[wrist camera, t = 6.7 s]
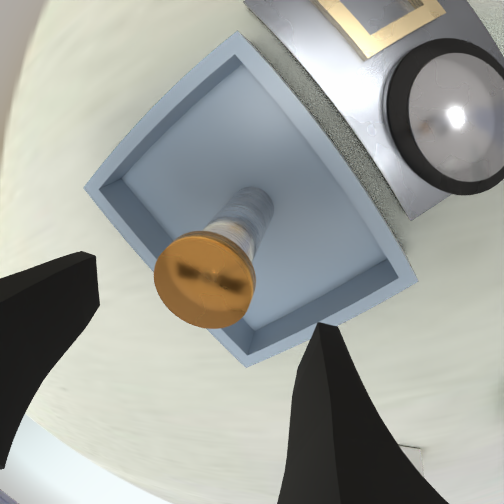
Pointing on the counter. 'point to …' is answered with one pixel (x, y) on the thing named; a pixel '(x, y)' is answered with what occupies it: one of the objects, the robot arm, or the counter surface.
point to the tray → (263, 177)
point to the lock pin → (216, 263)
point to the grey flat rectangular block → (405, 87)
